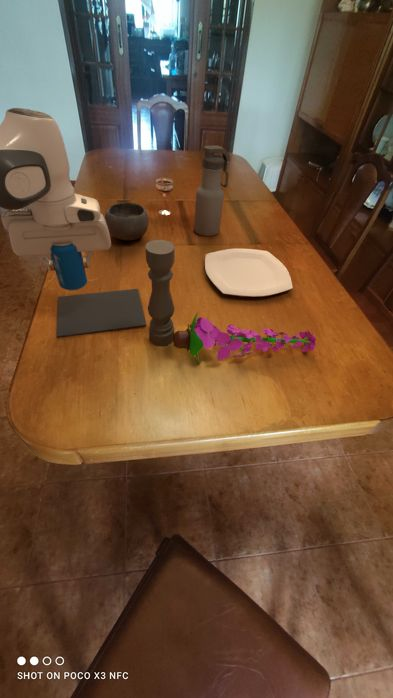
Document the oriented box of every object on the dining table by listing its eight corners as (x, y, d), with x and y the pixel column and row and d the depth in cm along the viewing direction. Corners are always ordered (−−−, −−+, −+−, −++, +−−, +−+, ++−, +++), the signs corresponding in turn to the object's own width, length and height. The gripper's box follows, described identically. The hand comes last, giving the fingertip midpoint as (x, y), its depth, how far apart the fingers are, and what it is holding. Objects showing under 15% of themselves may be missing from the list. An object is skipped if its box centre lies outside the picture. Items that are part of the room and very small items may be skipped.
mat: (56, 337, 77) (56, 336, 77) (58, 298, 88) (57, 296, 87) (146, 326, 82) (146, 324, 82) (138, 289, 93) (137, 288, 92)
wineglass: (166, 207, 133) (166, 176, 125) (176, 213, 130) (176, 182, 121) (153, 210, 130) (152, 179, 122) (162, 217, 127) (162, 185, 118)
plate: (269, 251, 114) (271, 246, 112) (302, 297, 96) (304, 292, 94) (196, 255, 108) (197, 250, 107) (216, 304, 91) (217, 299, 89)
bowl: (105, 228, 117) (101, 201, 110) (145, 226, 120) (144, 199, 113) (108, 249, 107) (104, 220, 100) (152, 246, 111) (151, 217, 104)
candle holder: (177, 333, 81) (180, 242, 63) (168, 349, 77) (169, 257, 59) (155, 326, 82) (151, 236, 64) (145, 342, 78) (138, 250, 60)
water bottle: (214, 223, 126) (223, 142, 106) (224, 235, 120) (235, 151, 100) (190, 226, 123) (194, 143, 103) (199, 238, 117) (206, 152, 97)
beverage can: (54, 286, 76) (39, 240, 67) (73, 274, 80) (61, 228, 71) (74, 295, 74) (62, 249, 66) (93, 282, 78) (84, 236, 70)
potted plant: (168, 353, 81) (293, 352, 89) (178, 377, 66) (328, 372, 73) (170, 306, 78) (299, 308, 85) (180, 318, 63) (337, 320, 70)
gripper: (-5, 217, 59) (19, 279, 69) (107, 212, 64) (115, 271, 74) (0, 203, 63) (22, 264, 73) (104, 199, 68) (112, 257, 78)
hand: (69, 267), depth 74 cm, fingers closed on beverage can, 6 cm apart
